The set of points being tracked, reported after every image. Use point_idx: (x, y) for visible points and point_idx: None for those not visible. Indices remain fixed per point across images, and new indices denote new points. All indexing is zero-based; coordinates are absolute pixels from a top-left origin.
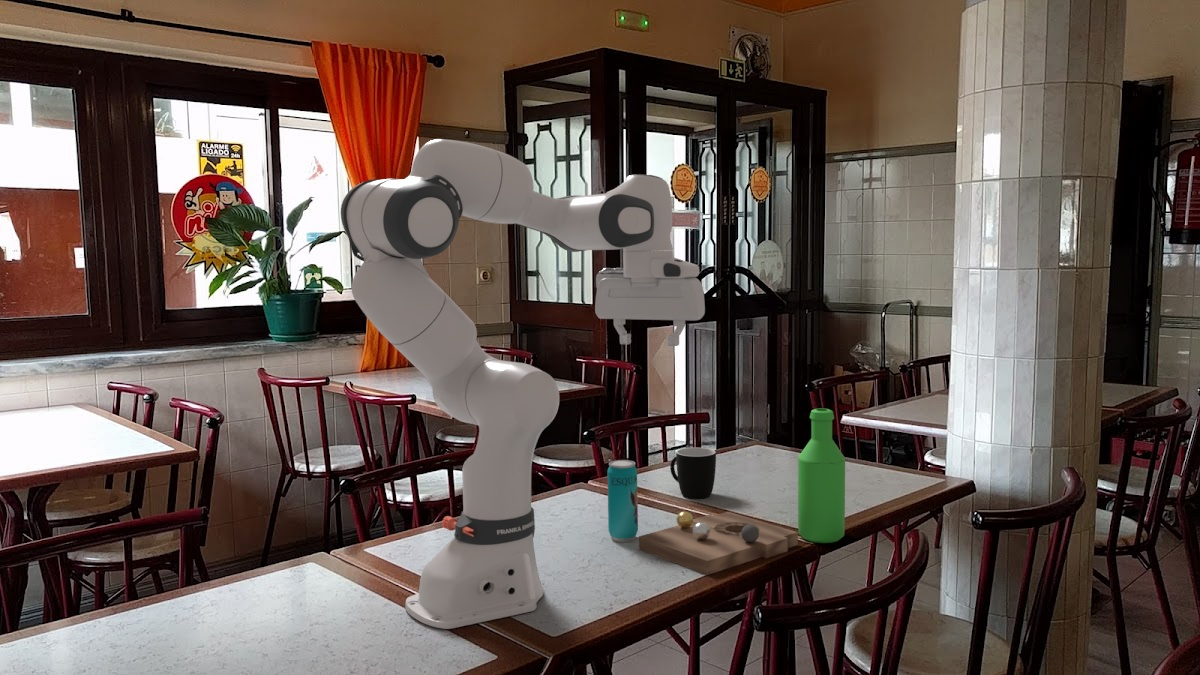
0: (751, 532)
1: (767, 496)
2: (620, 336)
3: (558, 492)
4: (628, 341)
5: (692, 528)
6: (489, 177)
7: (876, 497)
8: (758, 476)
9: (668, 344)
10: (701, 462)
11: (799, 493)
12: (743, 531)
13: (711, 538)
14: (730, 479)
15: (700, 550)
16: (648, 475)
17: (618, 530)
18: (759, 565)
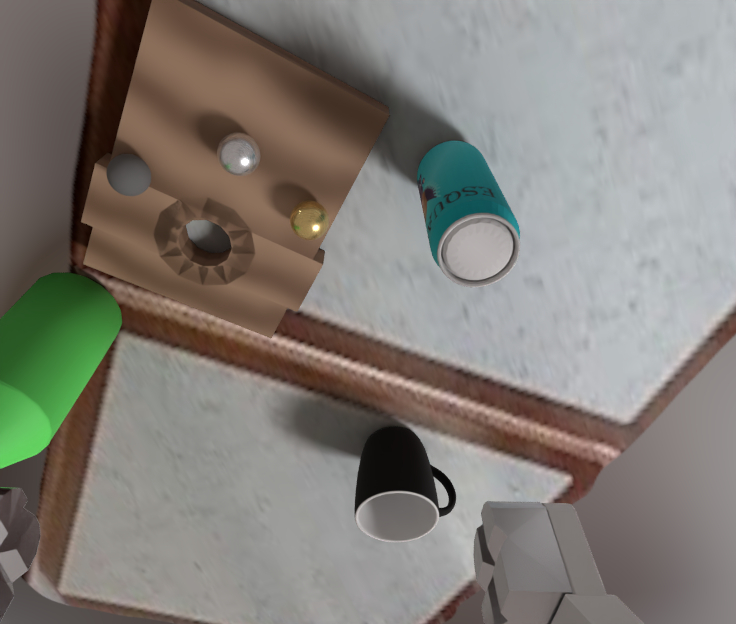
0: (113, 161)
1: (271, 470)
2: (587, 570)
3: (670, 392)
4: (485, 537)
5: None
6: None
7: (105, 507)
8: (326, 547)
9: (6, 490)
10: (373, 484)
11: (71, 343)
12: (134, 163)
13: None
14: None
15: (208, 65)
16: None
17: (453, 143)
18: (97, 102)
